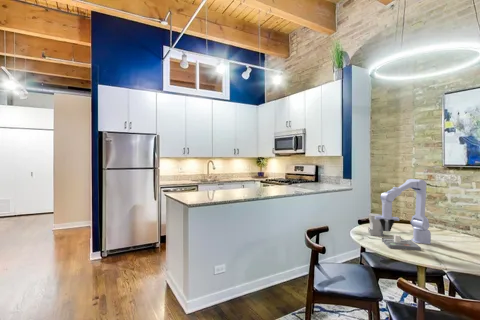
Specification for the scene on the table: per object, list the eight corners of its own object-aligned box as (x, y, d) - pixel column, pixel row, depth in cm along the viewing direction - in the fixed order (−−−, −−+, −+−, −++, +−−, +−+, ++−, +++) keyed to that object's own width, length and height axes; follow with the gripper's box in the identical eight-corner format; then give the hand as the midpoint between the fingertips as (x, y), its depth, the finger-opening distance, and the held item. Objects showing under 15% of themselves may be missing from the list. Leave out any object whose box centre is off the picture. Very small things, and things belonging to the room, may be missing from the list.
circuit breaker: (392, 236, 188) (392, 216, 188) (371, 235, 191) (371, 215, 191) (388, 233, 196) (388, 214, 195) (368, 232, 198) (368, 213, 198)
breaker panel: (410, 243, 175) (410, 239, 175) (420, 250, 161) (420, 246, 161) (382, 241, 178) (382, 237, 178) (389, 248, 165) (389, 243, 165)
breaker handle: (398, 241, 171) (398, 234, 171) (400, 242, 168) (400, 235, 168) (393, 241, 172) (393, 234, 172) (395, 242, 169) (395, 235, 169)
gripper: (377, 211, 169) (376, 231, 169) (401, 212, 166) (401, 233, 166) (373, 208, 176) (373, 228, 176) (397, 210, 173) (396, 230, 173)
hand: (386, 230), depth 171 cm, fingers open, 3 cm apart
